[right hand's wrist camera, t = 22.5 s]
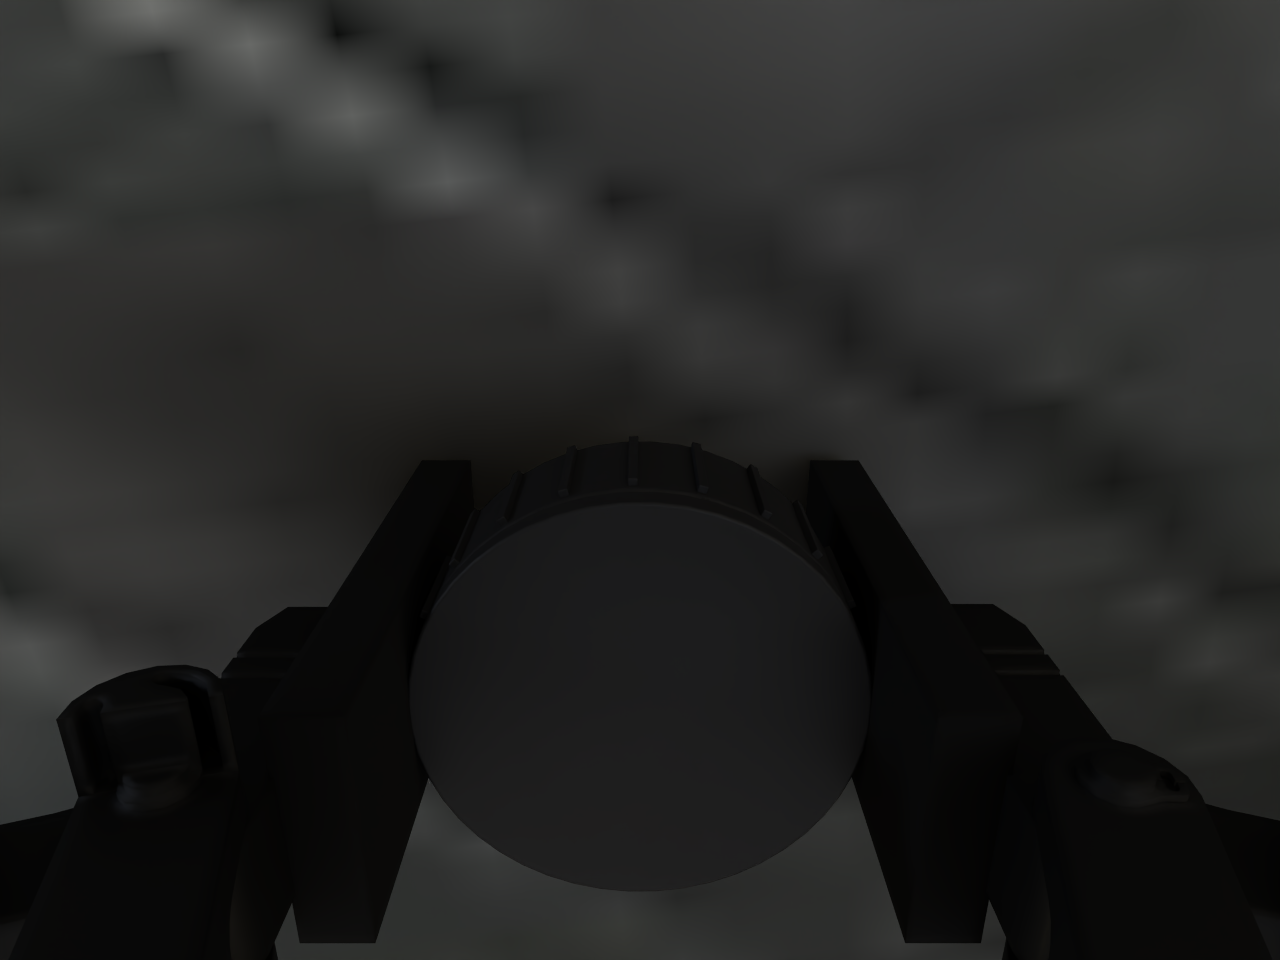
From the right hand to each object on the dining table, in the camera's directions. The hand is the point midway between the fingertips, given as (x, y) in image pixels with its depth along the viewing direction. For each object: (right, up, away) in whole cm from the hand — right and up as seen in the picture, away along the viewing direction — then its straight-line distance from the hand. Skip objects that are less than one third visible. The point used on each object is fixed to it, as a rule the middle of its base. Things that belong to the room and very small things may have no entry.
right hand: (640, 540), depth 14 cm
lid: (0, -2, -4) cm, 4 cm away
